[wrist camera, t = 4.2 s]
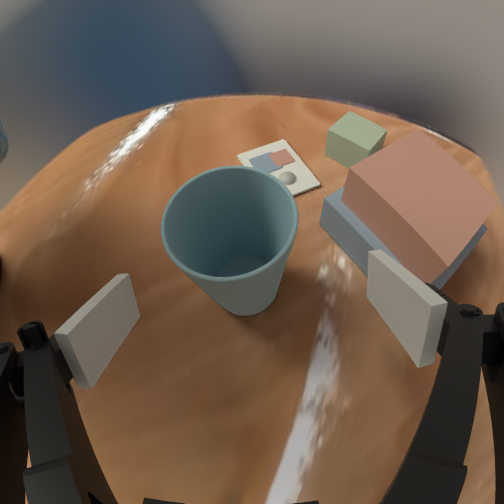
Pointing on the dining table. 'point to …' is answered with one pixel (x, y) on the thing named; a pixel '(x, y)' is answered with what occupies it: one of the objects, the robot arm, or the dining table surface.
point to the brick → (353, 139)
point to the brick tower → (409, 209)
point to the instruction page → (281, 166)
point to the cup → (232, 235)
